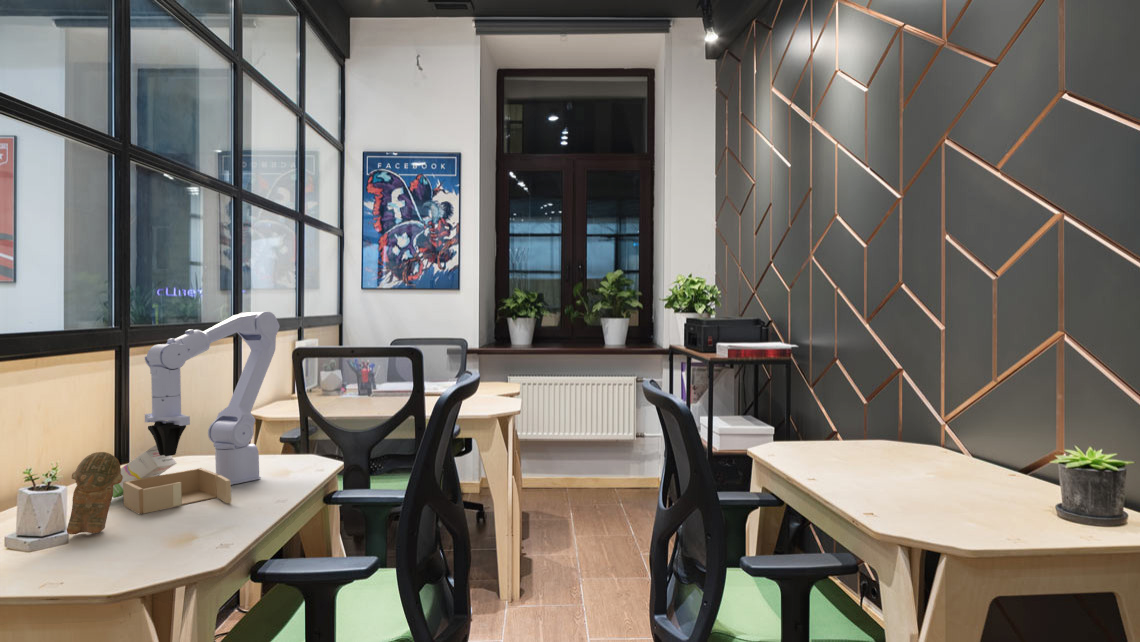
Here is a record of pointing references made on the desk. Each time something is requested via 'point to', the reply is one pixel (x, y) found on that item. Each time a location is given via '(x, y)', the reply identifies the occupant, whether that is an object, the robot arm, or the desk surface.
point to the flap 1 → (162, 497)
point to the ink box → (144, 468)
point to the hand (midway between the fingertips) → (167, 455)
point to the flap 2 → (223, 489)
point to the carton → (193, 483)
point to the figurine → (93, 492)
